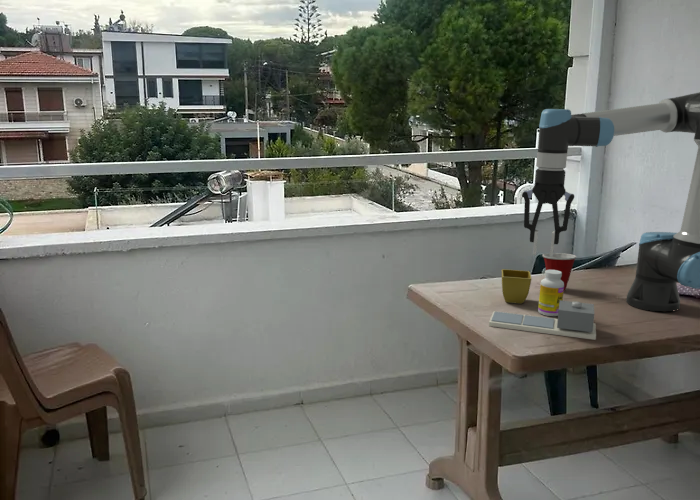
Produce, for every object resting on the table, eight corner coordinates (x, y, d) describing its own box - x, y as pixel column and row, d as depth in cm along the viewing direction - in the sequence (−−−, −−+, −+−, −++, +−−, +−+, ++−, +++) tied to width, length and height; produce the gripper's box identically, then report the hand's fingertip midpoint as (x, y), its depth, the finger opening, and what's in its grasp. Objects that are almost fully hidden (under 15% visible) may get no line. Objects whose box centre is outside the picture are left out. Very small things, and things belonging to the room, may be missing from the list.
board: (594, 327, 180) (595, 322, 180) (595, 339, 171) (596, 334, 170) (493, 314, 189) (493, 310, 188) (488, 325, 179) (489, 320, 179)
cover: (591, 321, 179) (594, 300, 178) (592, 332, 171) (594, 309, 170) (557, 317, 182) (560, 296, 181) (556, 327, 174) (559, 305, 172)
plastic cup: (559, 283, 222) (563, 249, 220) (579, 292, 212) (583, 257, 210) (532, 285, 219) (535, 251, 216) (551, 295, 209) (555, 259, 206)
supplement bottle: (557, 318, 187) (562, 275, 184) (535, 314, 190) (538, 272, 187) (563, 312, 192) (567, 270, 189) (541, 308, 196) (545, 267, 193)
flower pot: (529, 306, 197) (531, 278, 195) (500, 304, 199) (502, 276, 197) (527, 298, 205) (529, 270, 203) (499, 296, 207) (501, 269, 205)
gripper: (584, 169, 171) (575, 254, 176) (519, 165, 176) (512, 248, 181) (584, 171, 164) (575, 261, 169) (516, 168, 169) (509, 254, 175)
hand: (542, 254), depth 175 cm, fingers open, 4 cm apart
